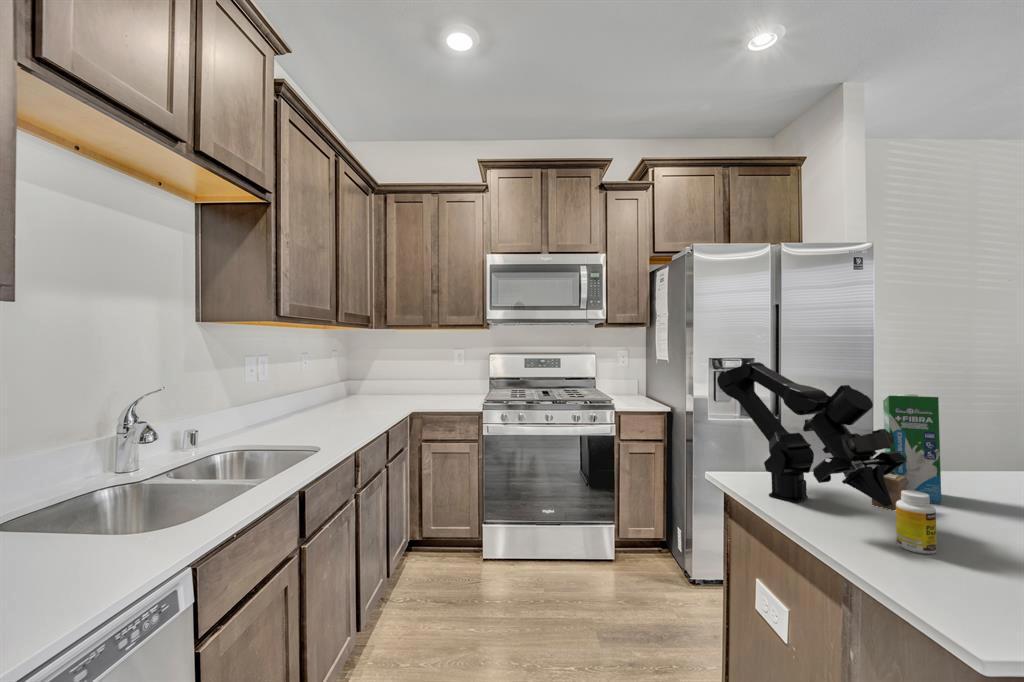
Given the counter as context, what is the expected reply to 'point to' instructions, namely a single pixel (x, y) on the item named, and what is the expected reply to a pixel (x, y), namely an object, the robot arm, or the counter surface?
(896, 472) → the milk carton
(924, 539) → the supplement bottle
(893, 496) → the brown rectangular block
